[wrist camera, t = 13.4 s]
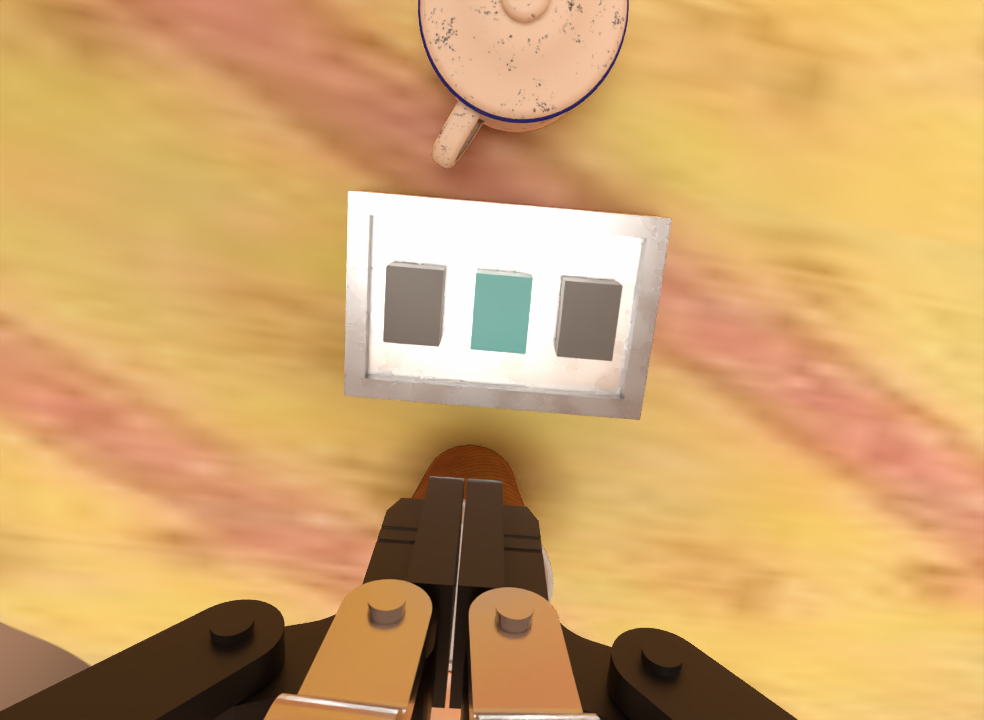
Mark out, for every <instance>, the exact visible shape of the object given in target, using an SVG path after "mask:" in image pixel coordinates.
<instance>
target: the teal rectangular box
mask: <svg viewBox="0 0 984 720" xmlns="http://www.w3.org/2000/svg"><path fill="white" fill-rule="evenodd" d="M532 287H533V276H532V274H526V273H514V272H502V271H491V270H479V269H477V271H476V279H475V292H474V305H473V318H472V331H471V345H470V350H482V351H494V352H506V353H518V354H526V346H527V336H528V326H529V316H530V306H531V296H532Z"/></svg>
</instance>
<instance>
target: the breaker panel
mask: <svg viewBox="0 0 984 720" xmlns="http://www.w3.org/2000/svg"><path fill="white" fill-rule="evenodd" d="M671 221H672V218H666V217H661V216H652V215H640V214H629V213H617V212H606V211H594V210H582V209H571V208H559V207H547V206H536V205H524V204H512V203H501V202H489V201H478V200H466V199H454V198H443V197H431V196H419V195H408V194H396V193H384V192H373V191H361V190H355V191H348V224H347V277H346V329H345V382H344V396H353V397H365V398H377V399H390V400H402V401H414V402H427V403H439V404H451V405H463V406H476V407H488V408H500V409H512V410H525V411H537V412H549V413H561V414H574V415H586V416H598V417H610V418H623V419H635V420H640V416H641V410H642V404H643V397H644V391H645V385H646V379H647V372H648V366H649V360H650V353H651V347H652V341H653V334H654V328H655V322H656V315H657V309H658V303H659V296H660V290H661V284H662V277H663V271H664V265H665V259H666V252H667V246H668V240H669V233H670V227H671ZM390 262H396V263H408V264H419V265H431V266H443V267H446V273H445V289H444V305H443V321H442V337H441V342H440V345H439V347H434V346H421V345H409V344H397V343H385V342H383V331H384V304H385V276H386V265H387V264H389V263H390ZM477 269H479V270H491V271H502V272H514V273H526V274H532V276H533V287H532V296H531V306H530V316H529V326H528V336H527V346H526V354H518V353H506V352H494V351H482V350H470V345H471V331H472V318H473V305H474V292H475V279H476V271H477ZM563 277H573V278H585V279H597V280H609V281H618V282H619V283H620V284H622V285H623V288H622V295H621V302H620V309H619V316H618V323H617V330H616V337H615V345H614V352H613V359H612V361H603V360H591V359H579V358H566V357H557V356H556V353H555V350H554V349H555V340H556V331H557V322H558V314H559V305H560V296H561V287H562V279H563Z"/></svg>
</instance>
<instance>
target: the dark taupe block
mask: <svg viewBox="0 0 984 720" xmlns="http://www.w3.org/2000/svg"><path fill="white" fill-rule="evenodd" d="M622 288H623V285H622V284H620V283H619V282H618V281H609V280H597V279H585V278H573V277H563V279H562V287H561V296H560V305H559V314H558V322H557V331H556V340H555V349H554V350H555V353H556V356H557V357H566V358H579V359H591V360H603V361H612V359H613V352H614V345H615V337H616V330H617V323H618V316H619V309H620V302H621V295H622Z"/></svg>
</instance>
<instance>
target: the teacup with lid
mask: <svg viewBox="0 0 984 720" xmlns="http://www.w3.org/2000/svg"><path fill="white" fill-rule="evenodd" d="M628 10H629V0H418V16H419V26H420V32H421V37H422V40H423V44H424V48H425V50H426V53H427V56H428V58H429V60H430V62H431V64H432V67H433V68H434V70H435V72H436V73H437V75H438V77H439V78H440V79H441V81H442V82H443V84H444V85H445V86H446V87H447V88H448V89H449V91H450V92H451V93H452V94H453V96H454V97H455V99H456V100H457V101H458V102H457V104H456V105H455V107H454V109H453V110H452V112H451V114H450V115H449V117H448V119H447V121H446V122H445V124H444V126H443V128H442V130H441V131H440V133H439V135H438V137H437V140H436V142H435V144H434V146H433V149H432V158H433V160H434V161H435V162H436V163H437V164H439V165H440V166H442V167H444V168H447V169H448V168H451V167H453V166H454V165H455V164H456V163H457V162H458V161H459V160H460V158H461V157H462V156H463V154H464V153H465V151H466V150H467V148H468V147H469V145H470V144H471V142H472V141H473V139H474V138H475V136H476V134H477V133H478V131H479V130H480V128H481V126H482V125H483V124H484V125H487V126H489V127H491V128H494V129H497V130H501V131H506V132H527V131H533V130H536V129H540V128H542V127H545V126H547V125H549V124H551V123H553V122H555V121H556V120H558V119H559V118H561V117H562V116H563V115H564V114H566V113H567V112H568V111H569V110H571V109H573V108H574V107H576V106H577V105H579V104H580V103H581V102H583V101H584V100H585V99H586V98H588V97H589V96H590V95H591V94H592V93H593V92H594V91H595V90H596V89H597V88H598V86H599V85H600V84H601V83H602V82H603V80H604V79H605V77H606V76H607V75H608V73H609V71H610V70H611V68H612V66H613V65H614V63H615V61H616V58H617V56H618V54H619V51H620V49H621V46H622V43H623V40H624V36H625V32H626V27H627V21H628Z"/></svg>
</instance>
